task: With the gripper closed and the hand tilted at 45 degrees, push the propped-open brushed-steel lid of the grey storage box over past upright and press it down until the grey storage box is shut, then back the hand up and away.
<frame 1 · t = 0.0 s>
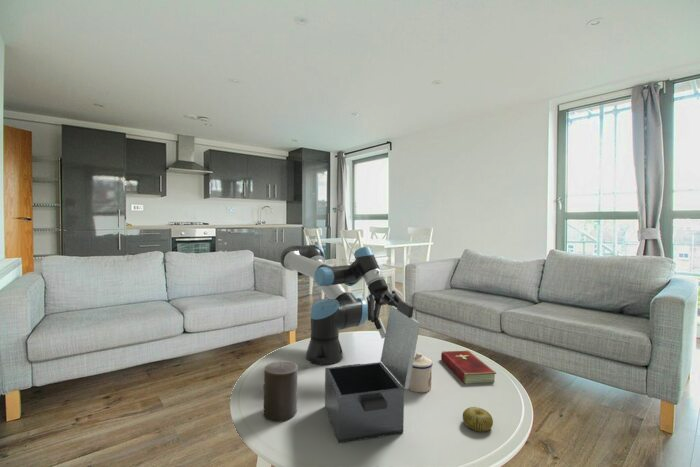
hand: (398, 333, 127), 15 cm above the table, tool tilted 35°, fingers open, 13 cm apart
pillar candle: (280, 413, 101), on the table
lid: (399, 338, 100), point 23 cm above the table, hinge at 100.0°
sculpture: (477, 426, 96), on the table
grey storage box: (361, 418, 98), on the table
bread roll: (279, 390, 115), on the table
hardcover book: (466, 371, 131), on the table
teacup with lid: (417, 385, 119), on the table
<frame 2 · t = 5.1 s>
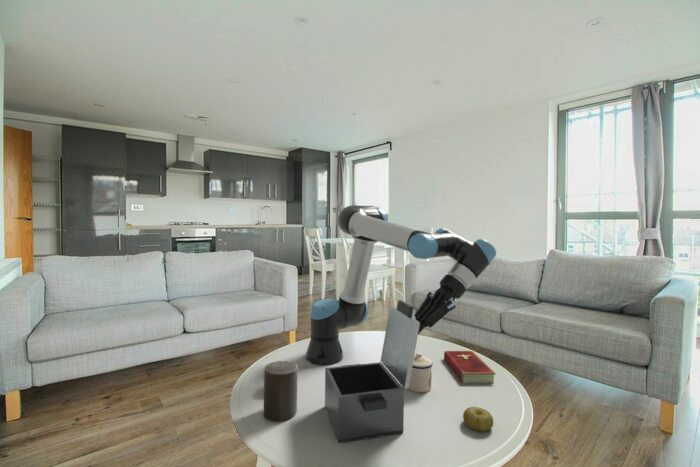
hand: (405, 340, 100), 22 cm above the table, tool tilted 45°, fingers closed
lid: (399, 338, 100), point 23 cm above the table, hinge at 99.7°, touching gripper
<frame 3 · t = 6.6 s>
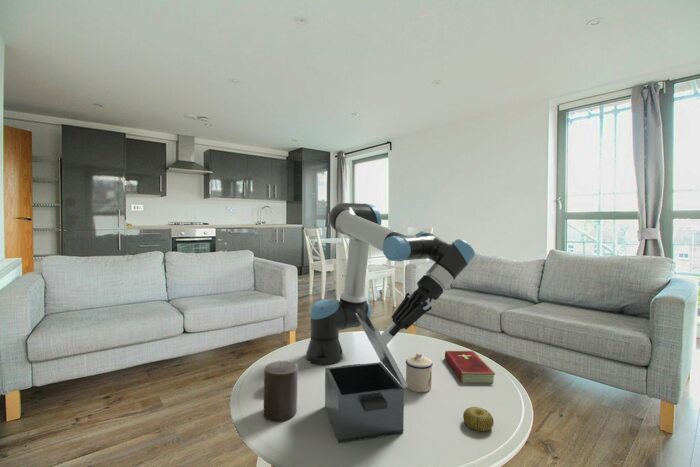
hand: (381, 341, 99), 22 cm above the table, tool tilted 45°, fingers closed
lid: (377, 342, 98), point 22 cm above the table, hinge at 61.2°, touching gripper
everything else where it was.
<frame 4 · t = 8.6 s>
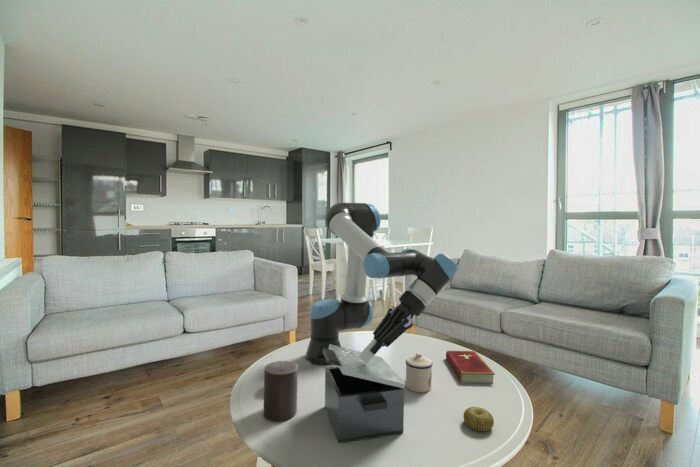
hand: (362, 359, 97), 18 cm above the table, tool tilted 45°, fingers closed
lid: (359, 363, 97), point 16 cm above the table, hinge at 18.5°, touching gripper
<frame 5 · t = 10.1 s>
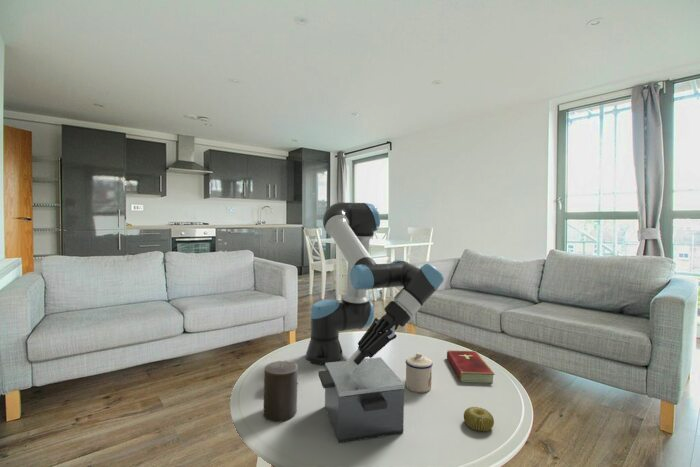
hand: (346, 370, 96), 15 cm above the table, tool tilted 45°, fingers closed
lid: (357, 375, 97), point 13 cm above the table, hinge at 0.0°, touching gripper
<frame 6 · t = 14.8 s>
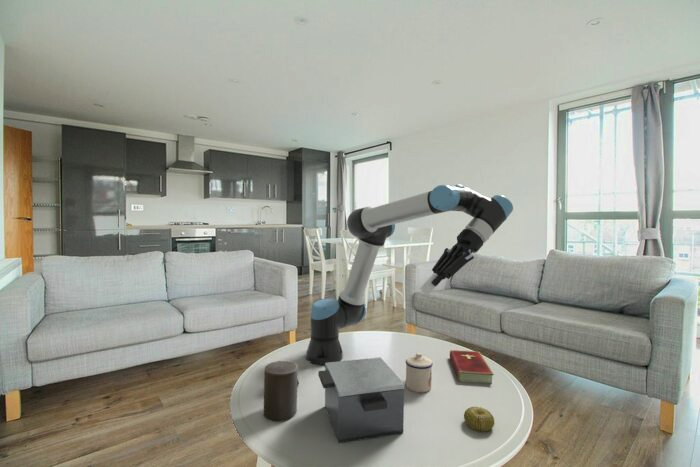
hand: (424, 291, 102), 36 cm above the table, tool tilted 45°, fingers closed
lid: (357, 375, 97), point 13 cm above the table, hinge at 0.0°
at the end: lid at +0° (first picture: +100°) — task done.
